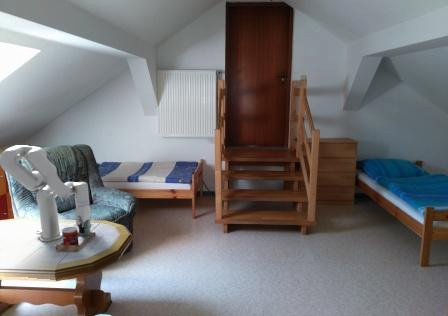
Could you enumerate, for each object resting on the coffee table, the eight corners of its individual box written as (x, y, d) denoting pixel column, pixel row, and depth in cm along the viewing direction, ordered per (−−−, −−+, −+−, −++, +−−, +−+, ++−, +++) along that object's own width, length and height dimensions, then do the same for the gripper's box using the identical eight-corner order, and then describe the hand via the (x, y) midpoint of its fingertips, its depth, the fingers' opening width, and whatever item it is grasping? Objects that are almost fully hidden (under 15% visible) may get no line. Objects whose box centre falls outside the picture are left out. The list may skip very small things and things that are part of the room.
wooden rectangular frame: (55, 250, 194) (53, 235, 192) (76, 233, 216) (75, 220, 215) (76, 251, 193) (75, 236, 191) (95, 234, 215) (94, 220, 213)
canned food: (66, 244, 202) (64, 226, 200) (80, 244, 203) (79, 226, 201) (61, 250, 195) (59, 232, 193) (76, 250, 196) (74, 231, 193)
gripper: (83, 197, 219) (86, 224, 223) (68, 207, 203) (71, 236, 206) (95, 198, 219) (97, 225, 222) (81, 207, 202) (83, 236, 205)
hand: (85, 230), depth 214 cm, fingers open, 7 cm apart
